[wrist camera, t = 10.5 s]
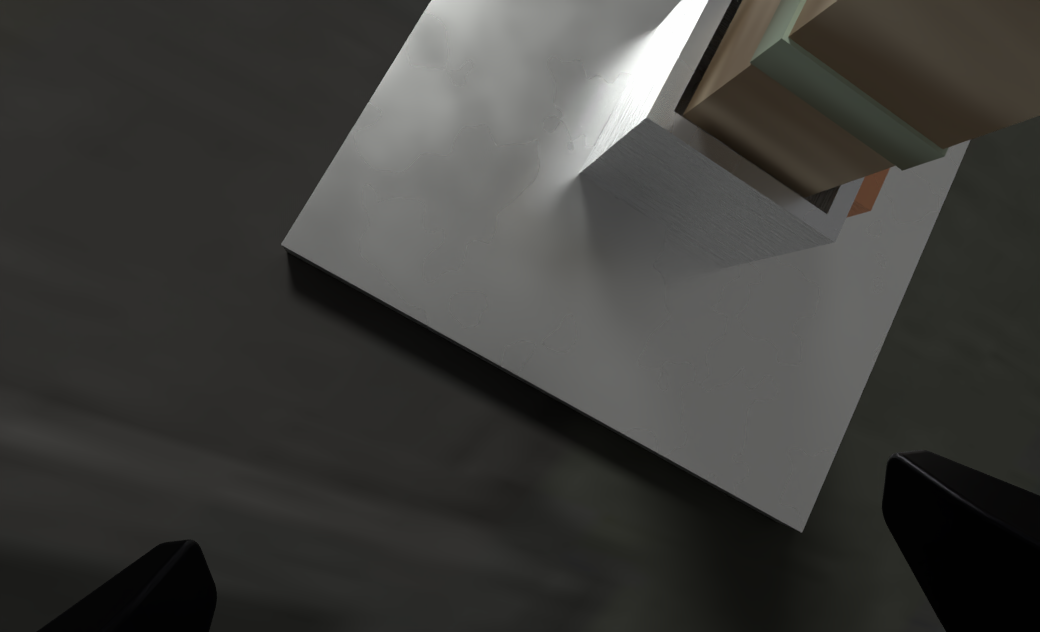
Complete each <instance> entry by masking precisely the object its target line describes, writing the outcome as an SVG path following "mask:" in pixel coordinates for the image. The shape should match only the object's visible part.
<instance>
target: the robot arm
mask: <svg viewBox="0 0 1040 632" xmlns="http://www.w3.org/2000/svg"><path fill="white" fill-rule="evenodd" d="M882 511H883V516H884V519H885V522H886V524H887V526H888V528H889V530H890V532H891V533H892V535H893V537H894V539H895V541H896V543H897V544H898V546H899V548H900V550H901V552H902V553H903V555H904V557H905V559H906V561H907V563H908V564H909V566H910V568H911V570H912V572H913V573H914V575H915V577H916V579H917V581H918V582H919V584H920V586H921V588H922V590H923V592H924V593H925V595H926V597H927V599H928V601H929V602H930V604H931V606H932V608H933V610H934V612H935V613H936V615H937V617H938V619H939V620H940V622H941V624H942V625H943V627H944V629H945V630H946V632H1040V496H1039V495H1037V494H1034V493H1032V492H1029V491H1027V490H1024V489H1022V488H1019V487H1017V486H1014V485H1012V484H1009V483H1007V482H1004V481H1002V480H999V479H997V478H994V477H992V476H989V475H987V474H984V473H982V472H979V471H977V470H974V469H972V468H969V467H967V466H964V465H962V464H959V463H957V462H954V461H952V460H949V459H947V458H944V457H942V456H939V455H937V454H934V453H932V452H929V451H926V450H915V451H907V452H899V453H894V454H893V455H891V456H890V457H889V459H888V461H887V466H886V475H885V483H884V491H883V500H882ZM216 601H217V592H216V586H215V583H214V581H213V578H212V575H211V573H210V570H209V568H208V565H207V563H206V560H205V558H204V555H203V553H202V550H201V548H200V546H199V544H198V543H197V542H195V541H193V540H181V541H173V542H166V543H162V544H159V545H158V546H156V547H155V548H153V549H152V550H151V551H149V552H148V553H146V554H145V555H144V556H142V557H141V558H139V559H138V560H137V561H135V562H134V563H132V564H131V565H129V566H128V567H127V568H125V569H124V570H122V571H121V572H120V573H118V574H117V575H115V576H114V577H113V578H111V579H110V580H108V581H107V582H106V583H104V584H103V585H101V586H100V587H99V588H97V589H96V590H94V591H93V592H92V593H90V594H89V595H87V596H86V597H85V598H83V599H82V600H80V601H79V602H78V603H76V604H75V605H73V606H72V607H71V608H69V609H68V610H66V611H65V612H64V613H62V614H61V615H59V616H58V617H57V618H55V619H54V620H52V621H51V622H50V623H48V624H47V625H45V626H44V627H43V628H41V629H40V630H38V631H37V632H209V629H210V626H211V622H212V618H213V615H214V611H215V607H216Z"/></svg>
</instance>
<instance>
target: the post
mask: <svg viewBox="0 0 1040 632" xmlns="http://www.w3.org/2000/svg"><path fill="white" fill-rule="evenodd" d="M1039 115H1040V0H742V2H741V4H740V6H739V8H738V10H737V12H736V14H735V16H734V18H733V20H732V21H731V23H730V25H729V27H728V29H727V31H726V33H725V35H724V37H723V39H722V41H721V43H720V45H719V47H718V48H717V50H716V52H715V54H714V56H713V58H712V60H711V62H710V64H709V66H708V68H707V70H706V72H705V74H704V75H703V77H702V79H701V81H700V83H699V85H698V87H697V89H696V91H695V93H694V95H693V97H692V99H691V101H690V102H689V104H688V106H687V108H686V110H685V112H684V114H683V116H684V117H685V118H687V119H688V120H690V121H691V122H693V123H694V124H696V125H697V126H699V127H700V128H702V129H703V130H705V131H706V132H708V133H709V134H710V135H712V136H713V137H715V138H716V139H718V140H719V141H721V142H722V143H724V144H725V145H727V146H728V147H730V148H731V149H733V150H734V151H736V152H737V153H739V154H740V155H742V156H743V157H745V158H746V159H748V160H749V161H751V162H752V163H754V164H755V165H757V166H758V167H760V168H761V169H762V170H764V171H765V172H767V173H768V174H770V175H771V176H773V177H774V178H776V179H777V180H779V181H780V182H782V183H783V184H785V185H786V186H788V187H789V188H791V189H792V190H794V191H795V192H797V193H798V194H800V195H801V196H803V197H804V198H805V197H808V196H811V195H814V194H817V193H819V192H822V191H825V190H828V189H831V188H834V187H837V186H839V185H842V184H845V183H848V182H851V181H854V180H857V179H859V178H862V177H865V176H868V175H871V174H874V173H877V172H879V171H882V170H885V169H888V168H891V167H894V166H897V167H898V168H899V169H901V170H902V171H903V170H906V169H909V168H912V167H915V166H918V165H921V164H924V163H927V162H930V161H933V160H936V159H939V158H942V157H945V155H946V152H947V150H948V148H949V147H951V146H954V145H957V144H959V143H962V142H965V141H968V140H971V139H974V138H977V137H979V136H982V135H985V134H988V133H991V132H994V131H997V130H999V129H1002V128H1005V127H1008V126H1011V125H1014V124H1017V123H1019V122H1022V121H1025V120H1028V119H1031V118H1034V117H1037V116H1039Z"/></svg>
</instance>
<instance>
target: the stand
mask: <svg viewBox="0 0 1040 632" xmlns="http://www.w3.org/2000/svg"><path fill="white" fill-rule="evenodd" d="M741 2H742V0H431V2H430V3H429V5H428V7H427V8H426V10H425V11H424V13H423V15H422V16H421V18H420V20H419V21H418V23H417V24H416V26H415V28H414V29H413V31H412V33H411V34H410V36H409V37H408V39H407V41H406V42H405V44H404V46H403V47H402V49H401V50H400V52H399V54H398V55H397V57H396V59H395V60H394V62H393V63H392V65H391V67H390V68H389V70H388V72H387V73H386V75H385V76H384V78H383V80H382V81H381V83H380V85H379V86H378V88H377V89H376V91H375V93H374V94H373V96H372V98H371V99H370V101H369V102H368V104H367V106H366V107H365V109H364V111H363V112H362V114H361V115H360V117H359V119H358V120H357V122H356V124H355V125H354V127H353V128H352V130H351V132H350V133H349V135H348V137H347V138H346V140H345V141H344V143H343V145H342V146H341V148H340V150H339V151H338V153H337V154H336V156H335V158H334V159H333V161H332V163H331V164H330V166H329V167H328V169H327V171H326V172H325V174H324V176H323V177H322V179H321V180H320V182H319V184H318V185H317V187H316V189H315V190H314V192H313V193H312V195H311V197H310V198H309V200H308V202H307V203H306V205H305V206H304V208H303V210H302V211H301V213H300V215H299V216H298V218H297V219H296V221H295V223H294V224H293V226H292V228H291V229H290V231H289V232H288V234H287V236H286V237H285V239H284V241H283V242H282V244H281V245H282V247H283V248H284V249H285V250H286V251H287V252H288V253H290V254H292V255H294V256H296V257H297V258H299V259H301V260H303V261H305V262H307V263H308V264H310V265H312V266H314V267H316V268H317V269H319V270H321V271H323V272H325V273H326V274H328V275H330V276H332V277H334V278H335V279H337V280H339V281H341V282H343V283H345V284H346V285H348V286H350V287H352V288H354V289H355V290H357V291H359V292H361V293H363V294H364V295H366V296H368V297H370V298H372V299H374V300H375V301H377V302H379V303H381V304H383V305H384V306H386V307H388V308H390V309H392V310H393V311H395V312H397V313H399V314H401V315H403V316H404V317H406V318H408V319H410V320H412V321H413V322H415V323H417V324H419V325H421V326H422V327H424V328H426V329H428V330H430V331H432V332H433V333H435V334H437V335H439V336H441V337H442V338H444V339H446V340H448V341H450V342H451V343H453V344H455V345H457V346H459V347H461V348H462V349H464V350H466V351H468V352H470V353H471V354H473V355H475V356H477V357H479V358H480V359H482V360H484V361H486V362H488V363H490V364H491V365H493V366H495V367H497V368H499V369H500V370H502V371H504V372H506V373H508V374H509V375H511V376H513V377H515V378H517V379H518V380H520V381H522V382H524V383H526V384H528V385H529V386H531V387H533V388H535V389H537V390H538V391H540V392H542V393H544V394H546V395H547V396H549V397H551V398H553V399H555V400H557V401H558V402H560V403H562V404H564V405H566V406H567V407H569V408H571V409H573V410H575V411H576V412H578V413H580V414H582V415H584V416H586V417H587V418H589V419H591V420H593V421H595V422H596V423H598V424H600V425H602V426H604V427H605V428H607V429H609V430H611V431H613V432H615V433H616V434H618V435H620V436H622V437H624V438H625V439H627V440H629V441H631V442H633V443H634V444H636V445H638V446H640V447H642V448H644V449H645V450H647V451H649V452H651V453H653V454H654V455H656V456H658V457H660V458H662V459H663V460H665V461H667V462H669V463H671V464H673V465H674V466H676V467H678V468H680V469H682V470H683V471H685V472H687V473H689V474H691V475H692V476H694V477H696V478H698V479H700V480H701V481H703V482H705V483H707V484H709V485H711V486H712V487H714V488H716V489H718V490H720V491H721V492H723V493H725V494H727V495H729V496H730V497H732V498H734V499H736V500H738V501H740V502H741V503H743V504H745V505H747V506H749V507H750V508H752V509H754V510H756V511H758V512H759V513H761V514H763V515H765V516H767V517H769V518H770V519H772V520H774V521H776V522H778V523H780V524H782V525H784V526H787V527H789V528H792V529H794V530H796V531H799V532H801V533H802V532H803V529H804V527H805V525H806V522H807V520H808V518H809V515H810V513H811V511H812V508H813V506H814V504H815V501H816V499H817V497H818V494H819V492H820V490H821V487H822V485H823V483H824V480H825V478H826V476H827V473H828V471H829V469H830V466H831V464H832V462H833V459H834V457H835V455H836V452H837V450H838V448H839V445H840V443H841V441H842V438H843V436H844V434H845V431H846V429H847V427H848V424H849V422H850V420H851V417H852V415H853V413H854V410H855V408H856V406H857V403H858V401H859V399H860V396H861V394H862V392H863V389H864V387H865V385H866V382H867V380H868V378H869V375H870V373H871V371H872V368H873V366H874V364H875V361H876V359H877V357H878V354H879V352H880V350H881V347H882V345H883V343H884V340H885V338H886V336H887V333H888V331H889V329H890V326H891V324H892V322H893V319H894V317H895V315H896V312H897V310H898V308H899V305H900V303H901V301H902V298H903V296H904V294H905V291H906V289H907V287H908V284H909V282H910V280H911V277H912V275H913V273H914V270H915V268H916V266H917V263H918V261H919V259H920V256H921V254H922V252H923V249H924V247H925V245H926V242H927V240H928V238H929V235H930V233H931V231H932V228H933V226H934V224H935V221H936V219H937V217H938V214H939V212H940V210H941V207H942V205H943V203H944V200H945V198H946V196H947V193H948V191H949V189H950V186H951V184H952V182H953V179H954V177H955V175H956V172H957V170H958V168H959V165H960V163H961V161H962V158H963V156H964V154H965V151H966V149H967V147H968V144H969V142H970V140H968V141H965V142H962V143H959V144H957V145H954V146H951V147H949V148H948V150H947V152H946V155H945V157H942V158H939V159H936V160H933V161H930V162H927V163H924V164H921V165H918V166H915V167H912V168H909V169H906V170H903V171H902V170H901V169H899V168H898V167H897V166H894V167H891V168H888V169H885V170H882V171H879V172H877V173H874V174H871V175H868V176H865V177H862V178H859V179H857V180H854V181H851V182H848V183H845V184H842V185H839V186H837V187H834V188H831V189H828V190H825V191H822V192H819V193H817V194H814V195H811V196H808V197H805V198H804V197H803V196H801V195H800V194H798V193H797V192H795V191H794V190H792V189H791V188H789V187H788V186H786V185H785V184H783V183H782V182H780V181H779V180H777V179H776V178H774V177H773V176H771V175H770V174H768V173H767V172H765V171H764V170H762V169H761V168H760V167H758V166H757V165H755V164H754V163H752V162H751V161H749V160H748V159H746V158H745V157H743V156H742V155H740V154H739V153H737V152H736V151H734V150H733V149H731V148H730V147H728V146H727V145H725V144H724V143H722V142H721V141H719V140H718V139H716V138H715V137H713V136H712V135H710V134H709V133H708V132H706V131H705V130H703V129H702V128H700V127H699V126H697V125H696V124H694V123H693V122H691V121H690V120H688V119H687V118H685V117H684V116H683V114H684V112H685V110H686V108H687V106H688V104H689V102H690V101H691V99H692V97H693V95H694V93H695V91H696V89H697V87H698V85H699V83H700V81H701V79H702V77H703V75H704V74H705V72H706V70H707V68H708V66H709V64H710V62H711V60H712V58H713V56H714V54H715V52H716V50H717V48H718V47H719V45H720V43H721V41H722V39H723V37H724V35H725V33H726V31H727V29H728V27H729V25H730V23H731V21H732V20H733V18H734V16H735V14H736V12H737V10H738V8H739V6H740V4H741Z"/></svg>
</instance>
